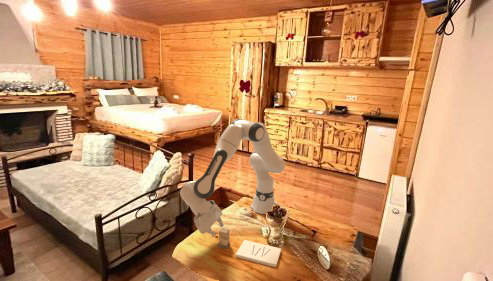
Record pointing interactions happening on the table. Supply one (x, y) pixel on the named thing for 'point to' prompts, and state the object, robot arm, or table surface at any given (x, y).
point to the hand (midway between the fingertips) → (219, 230)
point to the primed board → (259, 253)
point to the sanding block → (224, 238)
